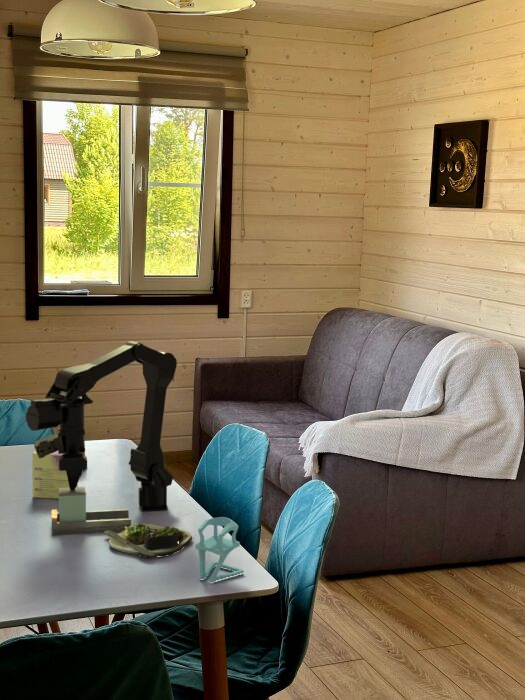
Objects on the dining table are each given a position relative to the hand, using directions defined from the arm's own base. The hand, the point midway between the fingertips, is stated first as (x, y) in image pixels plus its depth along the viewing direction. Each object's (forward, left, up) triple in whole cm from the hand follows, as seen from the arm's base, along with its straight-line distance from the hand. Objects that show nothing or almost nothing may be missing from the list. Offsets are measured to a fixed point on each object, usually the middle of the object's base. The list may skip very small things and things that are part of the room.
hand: (72, 489), depth 214 cm
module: (0, 0, -8) cm, 8 cm away
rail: (-4, 0, -9) cm, 10 cm away
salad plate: (-17, +14, -10) cm, 24 cm away
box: (+4, -25, -9) cm, 27 cm away
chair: (-28, +34, -9) cm, 45 cm away
